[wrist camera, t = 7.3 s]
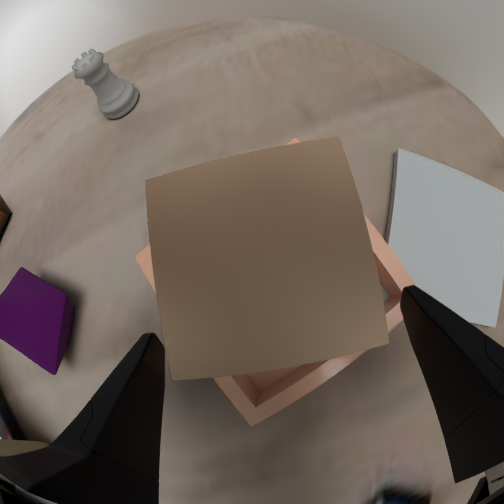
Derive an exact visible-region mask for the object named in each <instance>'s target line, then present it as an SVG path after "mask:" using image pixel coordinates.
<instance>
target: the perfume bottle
mask: <svg viewBox="0 0 504 504" xmlns="http://www.w3.org/2000/svg"><path fill="white" fill-rule="evenodd" d="M73 312H74V306H73V304H72V302H71V301H70V299H69V297H68V296H67V294H66V293H65V292H63V291H61V290H59V289H58V288H56V287H54V286H52V285H51V284H49V283H47V282H46V281H44V280H42V279H41V278H39V277H37V276H36V275H34V274H32V273H31V272H29V271H28V270H26V269H24V268H23V267H22V268H20V269H19V270H18V272H17V273H16V275H15V276H14V277H13V279H12V280H11V282H10V283H9V285H8V286H7V288H6V289H5V290H4V291H3V293H2V294H1V295H0V339H2V340H4V341H5V342H7V343H8V344H9V345H11V346H12V347H14V348H15V349H17V350H18V351H20V352H21V353H22V354H24V355H25V356H26V357H28V358H29V359H31V360H32V361H33V362H35V363H36V364H38V365H39V366H40V367H42V368H43V369H45V370H46V371H48V372H49V373H51V374H53V375H55V374H56V373H57V371H58V368H59V366H60V363H61V361H62V358H63V356H64V354H65V351H66V349H67V347H68V343H69V336H70V330H71V324H72V318H73Z"/></svg>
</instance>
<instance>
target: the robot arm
mask: <svg viewBox="0 0 504 504" xmlns="http://www.w3.org/2000/svg"><path fill="white" fill-rule="evenodd" d="M400 309H401V312H402V315H403V318H404V322H405V325H406V328H407V331H408V335H409V338H410V341H411V345H412V347H413V350H414V352H415V355H416V357H417V360H418V362H419V365H420V367H421V370H422V373H423V375H424V378H425V381H426V384H427V386H428V389H429V392H430V395H431V398H432V401H433V404H434V407H435V410H436V413H437V416H438V419H439V422H440V426H441V429H442V432H443V436H444V438H445V439H444V440H445V444H446V447H447V451H448V455H449V459H450V463H451V468H452V472H453V477H454V481H455V483H458V482H460V481H463V480H465V479H468V478H470V477H473V476H475V475H477V474H480V473H482V472H484V471H485V474H486V476H484V477H483V478H481V479H480V480H479V482H478V484H477V486H476V488H475V490H474V492H473V494H472V496H471V498H470V500H469V501H468V503H467V504H504V347H502V346H501V345H499V344H498V343H497V342H495V341H494V340H493V339H491V338H490V337H489V336H487V335H486V334H485V335H484V333H483V332H482V331H480V330H479V329H478V328H476V327H475V326H473V325H472V324H471V323H469V322H468V321H467V320H465V319H464V318H462V317H461V316H460V315H458V314H457V313H455V312H454V311H452V310H451V309H450V308H448V307H447V306H445V305H444V304H442V303H441V302H439V301H438V300H436V299H435V298H433V297H432V296H430V295H429V294H427V293H426V292H424V291H423V290H421V289H420V288H418V287H417V286H415V285H409V286H406V287H404V288H403V290H402V295H401V300H400ZM164 390H165V349H164V346H163V344H162V343H161V341H160V340H159V339H158V337H157V336H156V334H155V333H145V334H143V335H142V336H141V337H140V338H139V340H138V341H137V342H136V343H135V344H134V346H133V347H132V348H131V349H130V351H129V352H128V353H127V354H126V355H125V357H124V358H123V359H122V360H121V362H120V363H119V364H118V365H117V367H116V368H115V369H114V370H113V372H112V373H111V374H110V375H109V377H108V378H107V379H106V380H105V382H104V383H103V384H102V385H101V387H100V388H99V389H98V390H97V392H96V393H95V394H94V395H93V397H92V398H91V400H90V401H89V402H88V403H87V404H86V406H85V407H84V408H83V409H82V411H81V412H80V413H79V414H78V415H77V417H76V418H75V419H74V420H73V421H72V422H71V423H70V424H69V426H68V427H67V428H66V429H65V430H64V431H63V432H62V433H61V434H60V435H59V436H58V437H57V439H56V440H55V441H54V442H53V443H51V444H50V445H48V446H47V447H44V448H41V449H38V450H34V451H30V452H26V453H21V454H17V455H12V456H1V455H0V474H1V475H2V476H4V477H5V478H7V479H8V480H10V481H11V482H12V483H11V482H9V481H7V480H5V479H3V478H1V477H0V504H159V461H160V441H161V426H162V413H163V401H164ZM13 483H14V484H13Z"/></svg>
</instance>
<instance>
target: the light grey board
mask: <svg viewBox="0 0 504 504" xmlns="http://www.w3.org/2000/svg"><path fill="white" fill-rule="evenodd" d="M385 242H386V243H387V244H388V246H389V247H390V249H391V250H392V251H393V253H394V254H395V255H396V257H397V258H398V260H399V261H400V263H401V264H402V265H403V267H404V268H405V270H406V271H407V273H408V274H409V276H410V277H411V279H412V280H413V282H414V283H415V285H416V286H417V287H418V288H420V289H421V290H423V291H424V292H426V293H427V294H429V295H430V296H432V297H433V298H435V299H436V300H438V301H439V302H441V303H442V304H444V305H445V306H447V307H448V308H450V309H451V310H452V311H454V312H455V313H457V314H458V315H460V316H461V317H462V318H464V319H465V320H467V321H468V322H469V323H473V324H477V325H482V326H487V327H494V328H495V327H496V322H497V317H498V312H499V306H500V300H501V293H502V286H503V277H504V192H502V191H500V190H498V189H496V188H494V187H492V186H490V185H488V184H486V183H484V182H482V181H480V180H478V179H476V178H473V177H471V176H469V175H467V174H465V173H462V172H460V171H458V170H456V169H453V168H451V167H448V166H446V165H444V164H441V163H439V162H436V161H433V160H431V159H428V158H426V157H423V156H420V155H417V154H415V153H412V152H409V151H406V150H403V149H400V148H398V149H397V151H396V152H395V154H394V169H393V181H392V191H391V200H390V208H389V216H388V223H387V230H386V236H385ZM380 286H381V292H382V297H383V303H384V302H385V301H386V300H387V299H388V298H389V295H388V294H387V292H386V291H385V289H384V288H383V286H382V285H381V284H380Z"/></svg>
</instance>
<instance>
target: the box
mask: <svg viewBox="0 0 504 504" xmlns="http://www.w3.org/2000/svg"><path fill="white" fill-rule="evenodd" d="M300 142H301V141H300V140H299V139H298V138H297V137H296V138H294V139H293V140H291V141H290V142H288V143H287V144H285V145H289V144H294V143H300ZM363 214H364V213H363ZM364 217H365V221H366V225H367V228H368V232H369V236H370V240H371V245H372V249H373V253H374V257H375V262H376V267H377V271H378V276H379V281H380V284H381V285H382V286H383V288H384V289H385V291H386V292H387V294H388V295H389V298H388V299H387V300H386V301H385V302H384V309H385V315H386V321H387V328H388V333H389V332H390V331H391V330H392V329H393V328H394V327H395V326H397V325H398V324H399V323H400V322H401V321H402V320H403V319H404V318H403V315H402V312H401V309H400V300H401V295H402V290H403V288H404V287H406V286H409V285H415V283H414V282H413V280H412V279H411V277H410V276H409V274H408V273H407V271H406V270H405V268H404V267H403V265H402V264H401V263H400V261H399V260H398V258H397V257H396V255H395V254H394V253H393V251H392V250H391V249H390V247H389V246H388V244H387V243H386V242H385V240H384V239H383V238H382V236H381V235H380V234H379V232H378V231H377V230H376V228H375V227H374V226H373V225H372V223H371V222H370V221H369V219H368V218H367V217H366V216H365V214H364ZM135 258H136V260H137V262H138V263H139V265H140V267H141V269H142V271H143V272H144V274H145V276H146V277H147V279H148V281H149V283H150V284H151V286H152V288H153V289H154V291H155V293H156V290H155V282H154V275H153V267H152V259H151V249H150V245H149V246H147V247H146V248H145V249H144V250H143V251H141V252H140V253H139V254H138V255H137V256H135ZM415 286H416V285H415ZM366 351H367V350H365V351H361V352H357V353H353V354H349V355H345V356H341V357H337V358H333V359H328V360H324V361H319V362H314V363H309V364H304V365H299V366H294V367H288V368H282V369H276V370H270V371H264V372H257V373H250V374H242V375H234V376H225V377H215V378H213V379H214V380H215V382H216V383H217V384H218V386H219V387H220V388H221V389H222V391H223V392H224V393H225V395H226V396H227V397H228V399H229V400H230V401H231V402H232V404H233V405H234V406H235V407H236V409H237V410H238V411H239V412H240V413H241V415H242V416H243V417H244V418H245V420H246V421H247V422H248V423H249V424H250V425H251V427H252V426H254V425H256V424H258V423H260V422H262V421H263V420H265V419H267V418H269V417H270V416H272V415H274V414H276V413H277V412H279V411H281V410H282V409H284V408H286V407H287V406H289V405H291V404H292V403H294V402H295V401H297V400H299V399H300V398H302V397H303V396H305V395H306V394H308V393H309V392H311V391H312V390H314V389H315V388H317V387H318V386H320V385H321V384H323V383H324V382H326V381H327V380H328V379H330V378H331V377H333V376H334V375H335V374H337V373H338V372H340V371H341V370H342V369H344V368H345V367H346V366H348V365H349V364H350V363H352V362H353V361H354V360H356V359H357V358H358V357H359V356H361V355H362V354H363V353H365V352H366Z"/></svg>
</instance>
